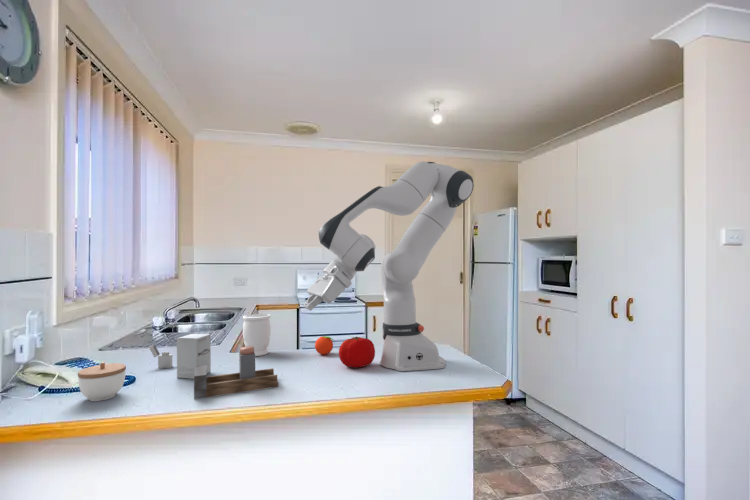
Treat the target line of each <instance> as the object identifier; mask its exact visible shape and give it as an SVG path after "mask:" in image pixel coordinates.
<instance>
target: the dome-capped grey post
mask: <svg viewBox="0 0 750 500" xmlns="http://www.w3.org/2000/svg"><path fill="white" fill-rule="evenodd" d="M238 356H239V360H238V361H239V365H238V367H239V373H240V379H247V378H255V371H256V356H255V353H254V347H252V346H247V347H245V346H242V347H240V348H239V354H238Z"/></svg>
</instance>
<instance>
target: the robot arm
mask: <svg viewBox="0 0 750 500" xmlns="http://www.w3.org/2000/svg"><path fill="white" fill-rule="evenodd" d="M474 186H475V185H474V179H473V177H472V176H471V175H470V174H469V173H468V172H466V171H465V170H461V169H458V168H455V167H453V166H450V165H448V164H447V165H446V164H442V163H436V162H434V161H417V162H416V163H415V164H413V165H412V166H411V167H409V168H408V169H406V171H405V172H404V173H403V174H401V176H399V178H398V179H396V181H394V182H393V183H391V184H390V185H387V186H381V185H378V186H376V187H373V189H372V188H371V190H369V191H368V192H366V193H365V194H363V195H362V196H361V197H359V198H358V199H357V200H355V201H354V202H352V203H351V204H350V205H349V206H347V207H346V208H345V209H343V210H342V211H341V212H339V213H338V214H336V215H334V216H332V218H330V219H328V220H327V221H325V222H324V223H323V224H322V226H320V228H319V230H318V240H319V242H320V244H321V245H322V246H323V247H325V248H326V249H327V250H329V251H330V252H332V253H333V254H334V255H335V258H333V259H332V260H331V261H330V262H329V263H328V264H327V265H326V266H325V267H324V269H322V273H323V275H321V276H320V277H318V278H317V279H316V280H315V281H313V283H312V284H311V285H310V286H309V287H308V289H306V293H307V294H308V295H309V296H308V298H307V300H306V301H305V303H303V307H304V308H305V309H306V310H308V311H310V312H311V311H313V309H315V308H316V307H317V306H318V305H320V304H321V303H322V302H324V303H326V304H331V303H332V302H334V301H335V300H336V299H337V298H338V297H339V296H340V295H341V294H342V293H343V292H344V291H345V289H348V288H350V287H351V286H352V279H354V277H355V275H356V274H357V272H364V271H365V270H366V269H367V267H368V266H369V265H370V264H371V263H372V262H374V260H375V258H376V244H375V242H374V241H373V239H372V238H370V237H369V236H368V235H366V234H364V233H359V232H357V231H356V229H354V228H353V227H352V226H351V225H350V223H351V222H353V221H354V220H355V219H357V218H358V217H359V216H361V215H362V214H363V213H364V212H366V211H368V210H371V209H377V210H381V211H383V212H386V213H388V214H391V215H395V216H403V217H404V216H410V215H412V214H414V212H416V210H418V209H419V208H420V207H421V206H422V205H423V204H424V202H425V201H426V200H427V199H428V197H429V196H430V199H429V201H428V203H427V204H425V205H424V206H423V208H422V209H421V210H420V211H419V213H418V214H417V215H416V217H415V218H414V219H413V220H412V222H411V223H410V225H409V226H408V228H406V230H405V231H404V234H403V236H402V237H401V238H400V240H399V243H398V244H397V246H396V247H395V248H394V250H393V251H391V252H388V253H387V254H386V255H384V257H383V258H382V259H381V264H380V273H381V274H380V276H381V288H382V297H383V298H382V299H383V323H382V329H381V330H382V332H381V333H382V339H383V343H382V351H381V352H382V353H381V356H380V361H379V364H380V366H382V367H384V368H387V369H392V370H396V371H398V372H412V371H424V370H425V371H426V370H438V369H440V370H441V369H444V368H446V365H447V363H446V360H445V359H444V358H443V356H440V354H439V349H438V347H437V345H436V344H435V342H433V341H432V340H431V339H429V338H428V337H427V336H426V335H424V333H423V332H424V331H425V327H424V326H423V325H422V324H420V323H419V322H417V321H416V318H417V317H416V298H415V293H414V287H413V286H414V285H413V281H414V280H415V279H416V278H417V277H418V275H419V273H420V271H421V269H422V267H423V266H424V264H425V262H426V261H427V258H428V256H429V255H430V253H431V251H432V250H433V249H434V247H435V245H436V244H437V242H438V241H439V240H440V239H441V237H442V236H443V234H444V233H445V232H446V230H447V229H448V227H449V226H450V224H451V222H452V220H453V219H454V216H455V214H456V212H457V208H458V207H459V206H461V205H462V204H463V203H464V202H466V201H467V200H468V199H469V198H470V196H472V193H473V190H474Z"/></svg>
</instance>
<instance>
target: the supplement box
mask: <svg viewBox="0 0 750 500" xmlns="http://www.w3.org/2000/svg"><path fill="white" fill-rule="evenodd" d="M211 340H212V339H211V334H209V333H190V334H186V335H184V336H180V337H177V338H176V378H178V379H179V378H180V379H193V380H194V372H195V367H197V366H206V371H207V374H209V373H211V363H212V359H211V354H212V353H211V350H212V349H211V347H212V346H211Z"/></svg>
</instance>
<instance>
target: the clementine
mask: <svg viewBox="0 0 750 500" xmlns="http://www.w3.org/2000/svg"><path fill="white" fill-rule="evenodd" d="M334 344H335V339H333V338H332V337H331V336H326V335H322V336H320V337H319V338H317V339H316V340H315V344H314V348H315V351H316V352H317V354H320V355H323V356H325V355H328V354H330V353H331V352H332V351H333V348H334Z"/></svg>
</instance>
